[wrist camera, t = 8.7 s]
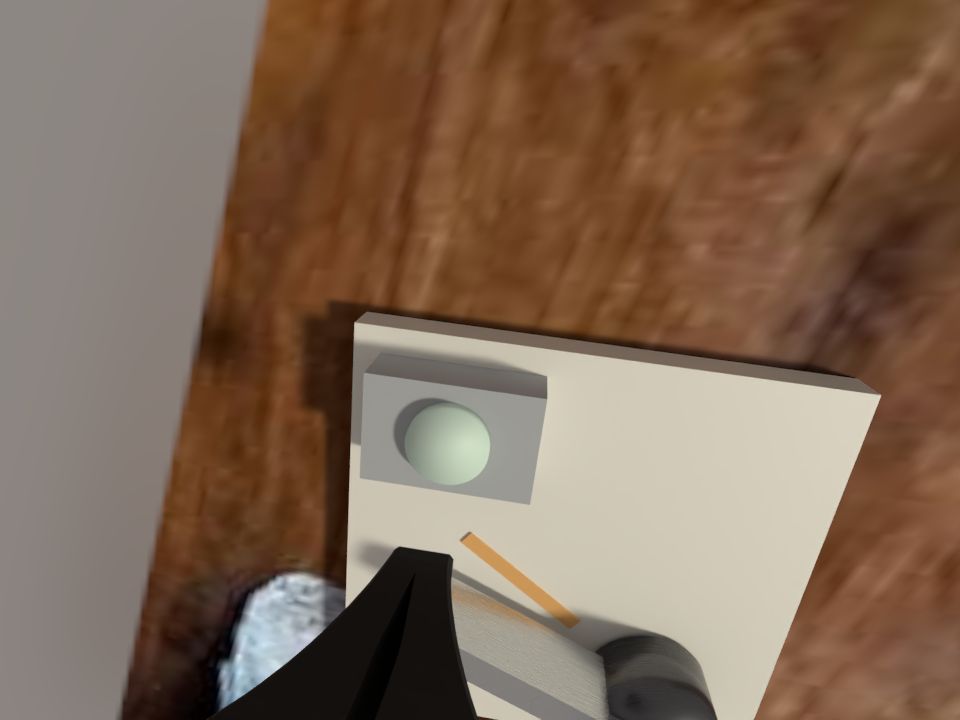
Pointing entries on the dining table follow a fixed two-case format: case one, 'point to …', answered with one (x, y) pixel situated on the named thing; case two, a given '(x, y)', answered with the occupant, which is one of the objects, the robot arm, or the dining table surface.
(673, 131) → the dining table surface
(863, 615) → the dining table surface
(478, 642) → the knob
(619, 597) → the leveling plate
